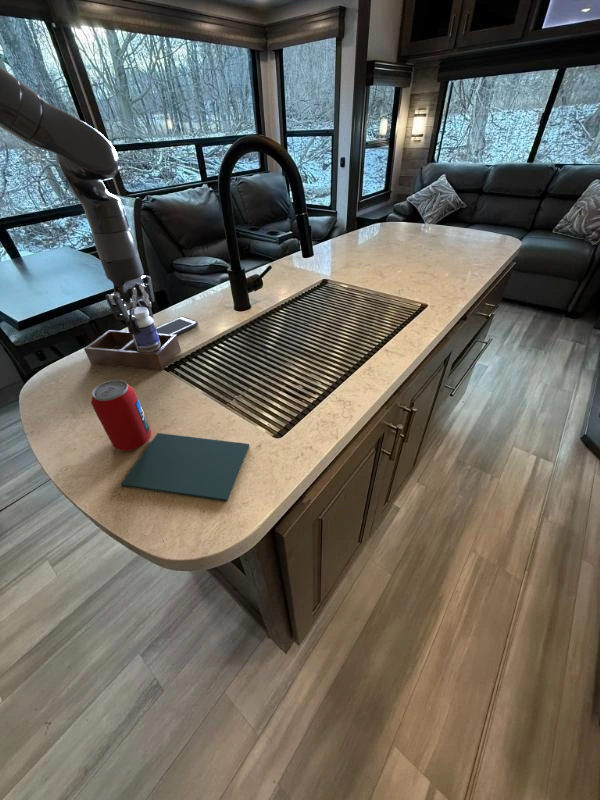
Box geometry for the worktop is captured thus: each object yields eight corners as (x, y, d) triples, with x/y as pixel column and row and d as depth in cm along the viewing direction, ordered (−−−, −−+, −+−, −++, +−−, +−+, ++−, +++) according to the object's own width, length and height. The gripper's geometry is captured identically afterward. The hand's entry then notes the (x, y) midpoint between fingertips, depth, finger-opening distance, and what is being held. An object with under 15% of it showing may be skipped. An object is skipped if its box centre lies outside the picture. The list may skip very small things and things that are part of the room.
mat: (121, 486, 54) (120, 484, 53) (158, 435, 63) (157, 432, 63) (227, 501, 51) (226, 499, 51) (249, 446, 60) (249, 443, 60)
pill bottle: (166, 346, 84) (155, 308, 78) (147, 356, 80) (134, 317, 74) (151, 340, 86) (139, 303, 80) (132, 349, 82) (118, 311, 76)
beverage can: (160, 432, 63) (140, 381, 56) (135, 457, 58) (110, 405, 51) (131, 425, 65) (109, 374, 58) (105, 448, 60) (77, 396, 53)
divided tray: (91, 364, 83) (83, 348, 81) (115, 344, 91) (109, 329, 88) (162, 370, 81) (157, 354, 78) (180, 350, 88) (176, 334, 86)
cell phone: (199, 324, 100) (199, 321, 99) (158, 344, 91) (157, 341, 90) (183, 318, 103) (182, 315, 103) (141, 337, 94) (140, 333, 94)
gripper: (122, 244, 75) (144, 314, 86) (79, 262, 64) (110, 340, 75) (153, 246, 74) (171, 316, 85) (114, 264, 63) (141, 343, 74)
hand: (142, 327), depth 80 cm, fingers closed on pill bottle, 5 cm apart
